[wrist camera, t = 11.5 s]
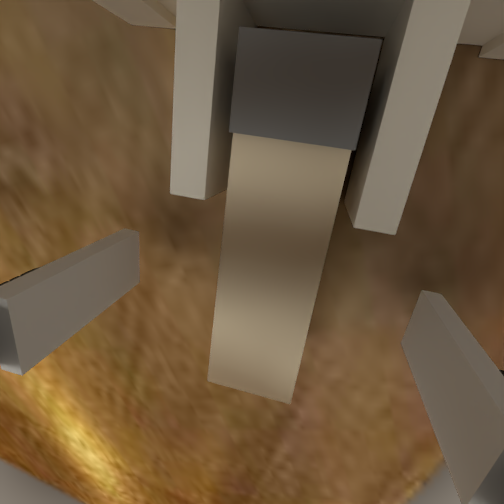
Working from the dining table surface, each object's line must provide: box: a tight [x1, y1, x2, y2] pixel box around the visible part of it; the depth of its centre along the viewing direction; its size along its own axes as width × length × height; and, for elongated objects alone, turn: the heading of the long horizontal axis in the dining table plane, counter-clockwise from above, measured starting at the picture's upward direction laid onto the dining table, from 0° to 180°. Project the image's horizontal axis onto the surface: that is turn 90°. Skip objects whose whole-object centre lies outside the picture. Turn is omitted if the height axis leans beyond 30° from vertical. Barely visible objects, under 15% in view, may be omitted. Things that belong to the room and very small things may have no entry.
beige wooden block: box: [207, 26, 383, 404], centre depth 14 cm, size 14×4×5 cm, turn 172°
